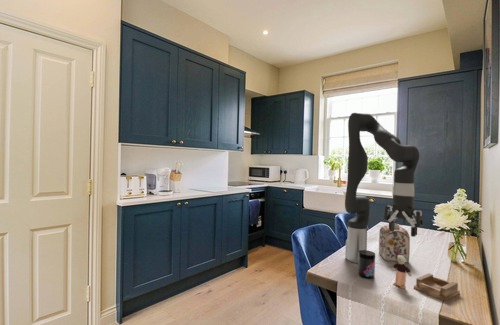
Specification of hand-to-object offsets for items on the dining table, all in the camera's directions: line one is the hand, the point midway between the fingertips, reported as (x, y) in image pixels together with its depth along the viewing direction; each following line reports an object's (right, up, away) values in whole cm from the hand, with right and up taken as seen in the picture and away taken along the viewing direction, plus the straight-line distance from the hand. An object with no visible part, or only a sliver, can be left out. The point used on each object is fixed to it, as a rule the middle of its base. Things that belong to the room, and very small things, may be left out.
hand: (402, 233), depth 107 cm
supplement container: (-11, -22, +9) cm, 26 cm away
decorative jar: (+14, -22, +32) cm, 41 cm away
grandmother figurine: (0, -22, 0) cm, 22 cm away
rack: (+12, -22, -3) cm, 25 cm away
